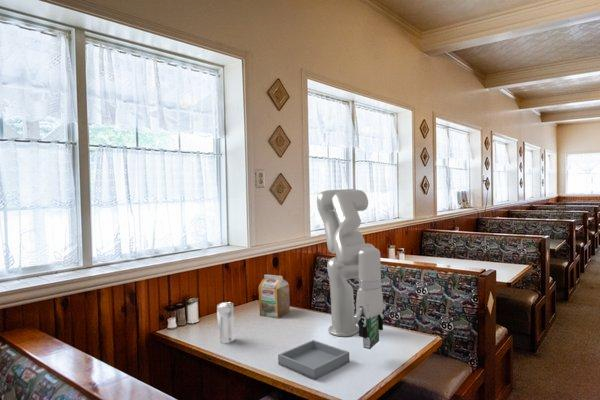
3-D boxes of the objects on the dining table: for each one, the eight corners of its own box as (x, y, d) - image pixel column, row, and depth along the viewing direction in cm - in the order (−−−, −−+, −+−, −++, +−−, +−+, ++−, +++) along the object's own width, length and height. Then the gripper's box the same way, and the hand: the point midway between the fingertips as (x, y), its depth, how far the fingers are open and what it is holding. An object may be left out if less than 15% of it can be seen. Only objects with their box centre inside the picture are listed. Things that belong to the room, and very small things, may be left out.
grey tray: (313, 348, 157) (313, 339, 157) (349, 362, 144) (349, 352, 144) (278, 364, 145) (277, 354, 144) (314, 380, 132) (313, 369, 132)
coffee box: (370, 350, 140) (369, 312, 139) (362, 348, 141) (361, 310, 140) (379, 341, 146) (378, 305, 145) (372, 339, 148) (371, 303, 147)
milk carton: (290, 312, 203) (288, 273, 202) (277, 318, 194) (276, 278, 193) (272, 309, 208) (270, 272, 208) (259, 315, 199) (257, 276, 199)
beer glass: (239, 338, 171) (237, 302, 170) (229, 344, 165) (227, 307, 164) (225, 336, 174) (223, 301, 173) (215, 342, 167) (213, 306, 167)
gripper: (375, 276, 151) (377, 323, 152) (345, 287, 139) (346, 337, 140) (393, 280, 145) (394, 328, 147) (363, 291, 133) (364, 344, 135)
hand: (371, 332), depth 143 cm, fingers closed on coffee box, 8 cm apart
